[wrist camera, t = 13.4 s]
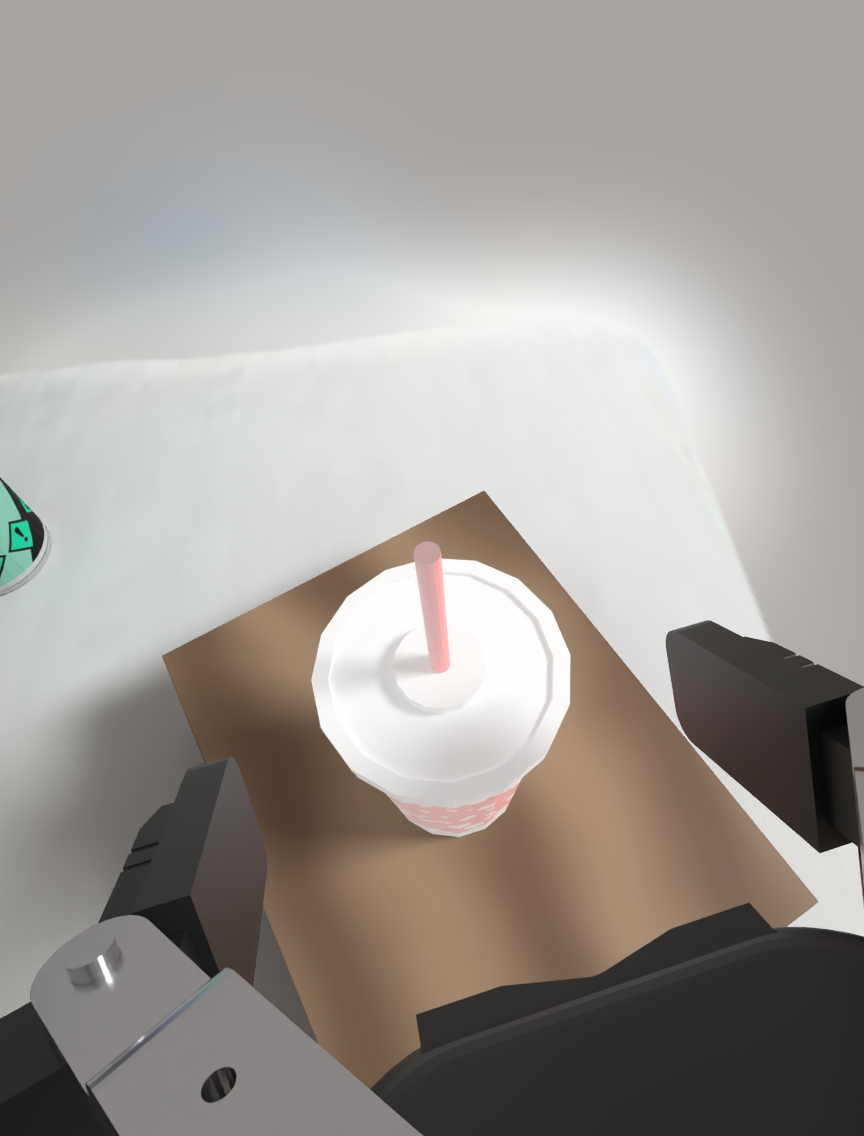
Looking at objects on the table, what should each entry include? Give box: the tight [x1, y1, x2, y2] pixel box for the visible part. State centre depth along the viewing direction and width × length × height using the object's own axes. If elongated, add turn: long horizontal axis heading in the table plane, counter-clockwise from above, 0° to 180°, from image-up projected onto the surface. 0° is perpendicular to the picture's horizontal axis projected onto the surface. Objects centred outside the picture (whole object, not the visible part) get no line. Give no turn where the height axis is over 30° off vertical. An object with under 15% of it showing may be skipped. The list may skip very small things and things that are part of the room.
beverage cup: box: [311, 541, 570, 837], centre depth 17 cm, size 6×6×14 cm
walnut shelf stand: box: [162, 491, 818, 1089], centre depth 26 cm, size 15×19×6 cm
